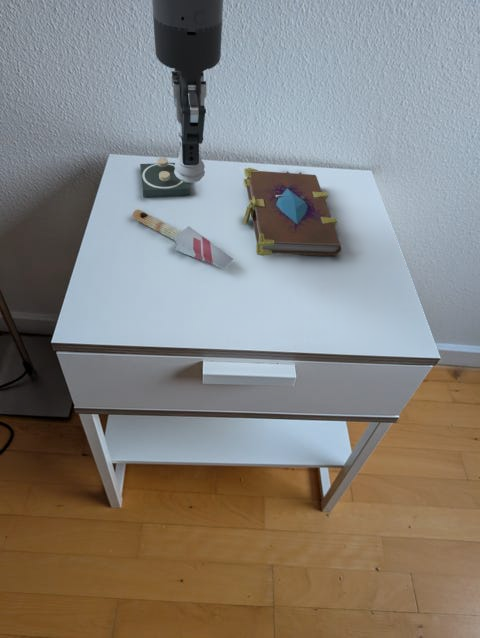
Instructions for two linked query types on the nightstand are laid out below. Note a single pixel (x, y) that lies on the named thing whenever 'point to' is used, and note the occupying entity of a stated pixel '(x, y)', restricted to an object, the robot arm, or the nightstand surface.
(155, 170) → the green square board
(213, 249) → the grey trowel
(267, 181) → the book
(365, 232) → the nightstand surface
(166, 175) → the eye pad
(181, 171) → the rook chess piece
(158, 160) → the eye pad
